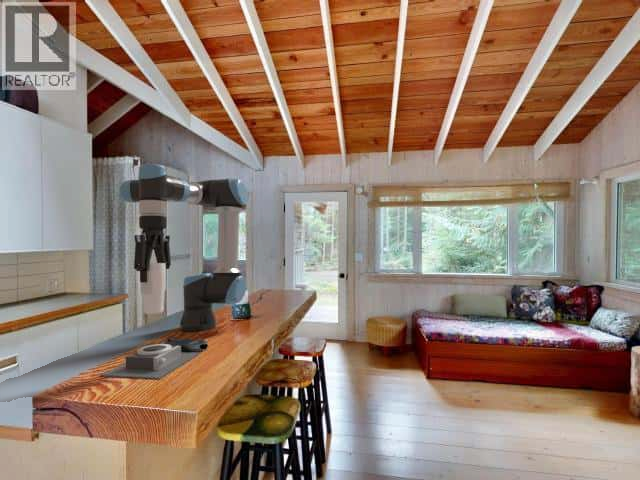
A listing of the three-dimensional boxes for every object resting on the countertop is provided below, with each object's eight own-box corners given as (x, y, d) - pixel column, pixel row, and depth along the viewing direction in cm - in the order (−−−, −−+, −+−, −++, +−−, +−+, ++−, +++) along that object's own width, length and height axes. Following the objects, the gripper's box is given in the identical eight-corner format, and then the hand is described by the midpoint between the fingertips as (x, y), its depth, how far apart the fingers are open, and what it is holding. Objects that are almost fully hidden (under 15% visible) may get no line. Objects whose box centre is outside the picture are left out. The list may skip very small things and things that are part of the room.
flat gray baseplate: (151, 352, 119) (151, 337, 119) (200, 353, 116) (200, 339, 116) (100, 376, 97) (99, 359, 97) (159, 379, 94) (159, 361, 94)
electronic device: (158, 357, 119) (197, 353, 115) (158, 340, 120) (196, 335, 116) (177, 352, 128) (213, 348, 124) (176, 336, 129) (212, 332, 125)
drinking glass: (146, 311, 110) (146, 263, 110) (169, 310, 110) (168, 262, 110) (137, 315, 103) (137, 264, 103) (161, 314, 103) (160, 263, 104)
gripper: (161, 218, 117) (162, 287, 117) (118, 213, 98) (119, 296, 98) (182, 217, 116) (183, 287, 116) (142, 212, 97) (143, 296, 96)
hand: (153, 291), depth 107 cm, fingers closed on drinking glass, 7 cm apart
